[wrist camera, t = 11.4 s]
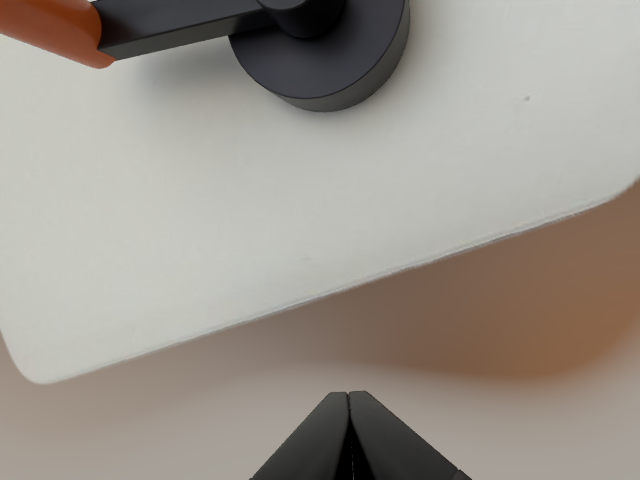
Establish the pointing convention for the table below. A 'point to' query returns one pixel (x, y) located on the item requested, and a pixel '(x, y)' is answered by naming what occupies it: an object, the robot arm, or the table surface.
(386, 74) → the base
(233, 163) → the table surface
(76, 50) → the crank handle
